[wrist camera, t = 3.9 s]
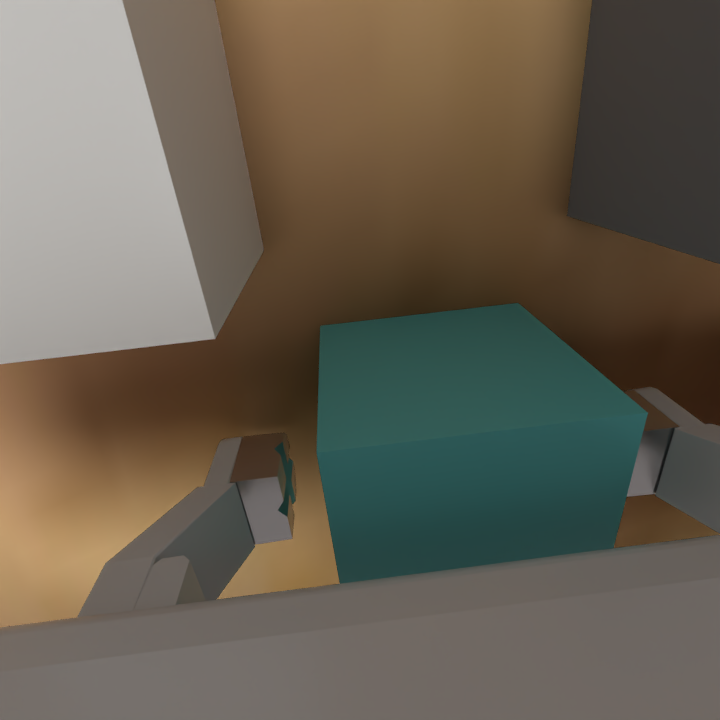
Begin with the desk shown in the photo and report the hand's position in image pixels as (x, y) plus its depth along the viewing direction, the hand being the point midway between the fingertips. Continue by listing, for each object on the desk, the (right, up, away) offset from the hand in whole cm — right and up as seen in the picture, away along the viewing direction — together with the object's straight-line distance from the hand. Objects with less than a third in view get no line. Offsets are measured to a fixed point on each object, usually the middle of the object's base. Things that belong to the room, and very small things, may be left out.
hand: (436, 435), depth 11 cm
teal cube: (0, +1, +2) cm, 2 cm away
